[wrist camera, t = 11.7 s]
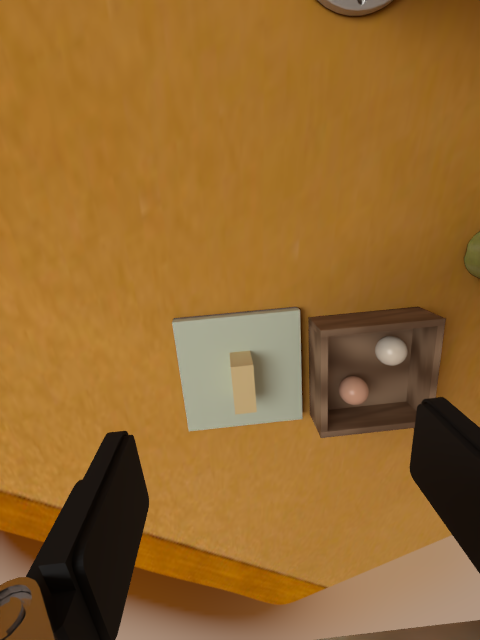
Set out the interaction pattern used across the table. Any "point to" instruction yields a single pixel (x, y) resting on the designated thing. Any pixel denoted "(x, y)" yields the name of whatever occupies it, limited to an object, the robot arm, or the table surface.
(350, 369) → the walnut box
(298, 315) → the lid
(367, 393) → the terracotta ball
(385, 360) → the cream ball
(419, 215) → the table surface
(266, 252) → the table surface
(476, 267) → the plant pot
